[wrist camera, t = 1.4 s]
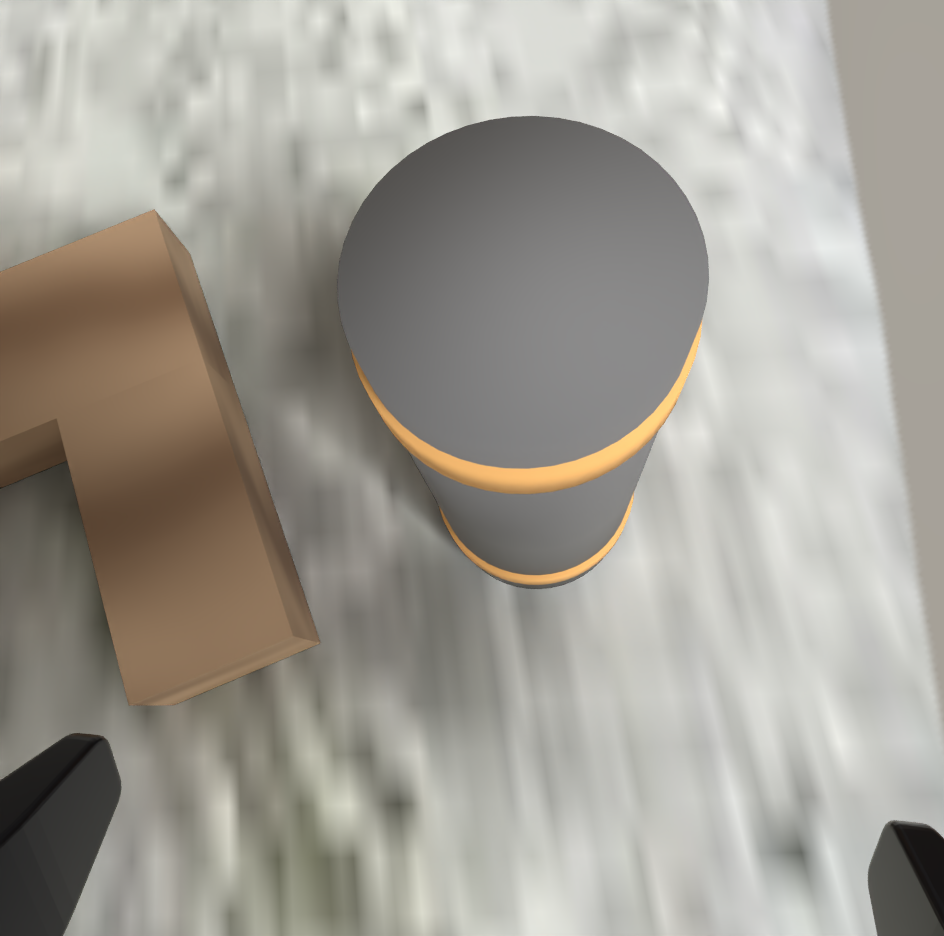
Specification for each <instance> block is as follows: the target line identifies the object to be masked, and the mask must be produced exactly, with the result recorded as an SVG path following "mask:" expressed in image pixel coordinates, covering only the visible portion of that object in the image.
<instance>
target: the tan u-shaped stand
mask: <svg viewBox="0 0 944 936" xmlns="http://www.w3.org/2000/svg"><path fill="white" fill-rule="evenodd" d="M65 461H67V462H68V465H69V469H70V473H71V477H72V481H73V485H74V489H75V493H76V497H77V501H78V505H79V509H80V513H81V517H82V521H83V525H84V529H85V533H86V537H87V541H88V545H89V549H90V553H91V557H92V561H93V565H94V569H95V573H96V577H97V581H98V585H99V589H100V593H101V597H102V601H103V605H104V609H105V613H106V617H107V621H108V625H109V629H110V632H111V636H112V640H113V644H114V648H115V652H116V656H117V660H118V664H119V668H120V672H121V676H122V680H123V684H124V688H125V692H126V696H127V700H128V704H129V705H175V704H178V703H180V702H183V701H185V700H187V699H190V698H192V697H194V696H197V695H199V694H202V693H204V692H206V691H209V690H211V689H213V688H216V687H218V686H220V685H223V684H225V683H228V682H230V681H232V680H235V679H237V678H239V677H242V676H244V675H247V674H249V673H251V672H254V671H256V670H258V669H261V668H263V667H265V666H268V665H270V664H273V663H275V662H277V661H280V660H282V659H284V658H287V657H289V656H292V655H294V654H296V653H299V652H301V651H303V650H306V649H308V648H310V647H313V646H315V645H318V644H320V640H319V637H318V634H317V631H316V628H315V625H314V622H313V619H312V616H311V613H310V610H309V607H308V604H307V601H306V598H305V595H304V592H303V589H302V586H301V583H300V580H299V577H298V574H297V571H296V568H295V565H294V562H293V559H292V556H291V553H290V550H289V547H288V544H287V542H286V539H285V536H284V533H283V530H282V527H281V524H280V521H279V518H278V515H277V512H276V509H275V506H274V503H273V500H272V497H271V494H270V491H269V488H268V485H267V482H266V479H265V476H264V473H263V470H262V467H261V464H260V461H259V458H258V455H257V452H256V449H255V446H254V443H253V440H252V437H251V434H250V431H249V428H248V425H247V422H246V419H245V416H244V413H243V410H242V407H241V404H240V402H239V399H238V396H237V393H236V390H235V387H234V384H233V381H232V378H231V375H230V372H229V369H228V366H227V363H226V360H225V357H224V354H223V351H222V348H221V345H220V342H219V339H218V336H217V333H216V330H215V327H214V324H213V321H212V318H211V315H210V312H209V309H208V306H207V303H206V300H205V297H204V294H203V291H202V288H201V285H200V282H199V279H198V276H197V273H196V270H195V267H194V264H193V261H192V259H191V256H190V253H189V252H188V251H187V249H186V248H185V247H184V246H183V244H182V243H181V242H180V241H179V239H178V238H177V237H176V236H175V234H174V233H173V232H172V231H171V229H170V228H169V227H168V226H167V224H166V223H165V222H164V221H163V220H162V218H161V217H160V216H159V215H158V213H157V212H156V211H155V210H152V211H149V212H147V213H144V214H142V215H139V216H137V217H134V218H132V219H129V220H127V221H124V222H122V223H120V224H117V225H115V226H112V227H110V228H107V229H105V230H102V231H100V232H97V233H95V234H92V235H90V236H87V237H85V238H83V239H80V240H78V241H75V242H73V243H70V244H68V245H65V246H63V247H60V248H58V249H55V250H53V251H51V252H48V253H46V254H43V255H41V256H38V257H36V258H33V259H31V260H28V261H26V262H23V263H21V264H19V265H16V266H14V267H11V268H9V269H6V270H4V271H1V272H0V488H2V487H5V486H7V485H10V484H12V483H14V482H17V481H19V480H22V479H24V478H27V477H29V476H31V475H34V474H36V473H39V472H41V471H43V470H46V469H48V468H51V467H53V466H56V465H58V464H60V463H63V462H65Z"/></svg>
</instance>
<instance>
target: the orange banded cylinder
mask: <svg viewBox="0 0 944 936" xmlns="http://www.w3.org/2000/svg"><path fill="white" fill-rule="evenodd" d="M708 284H709V269H708V255H707V250H706V245H705V240H704V235H703V233H702V230H701V227H700V224H699V221H698V219H697V216H696V214H695V212H694V210H693V208H692V206H691V204H690V203H689V201H688V199H687V197H686V195H685V194H684V193H683V191H682V190H681V189H680V187H679V186H678V185H677V183H676V182H675V180H674V179H673V178H672V177H671V176H670V175H669V174H668V173H667V172H666V171H665V170H664V169H663V168H662V167H661V166H660V165H659V164H658V163H657V162H656V161H655V160H653V159H652V158H651V157H650V156H648V155H647V154H646V153H645V152H643V151H642V150H641V149H639V148H638V147H636V146H634V145H633V144H631V143H629V142H628V141H626V140H624V139H623V138H621V137H618V136H616V135H614V134H612V133H610V132H607V131H605V130H603V129H600V128H597V127H594V126H591V125H587V124H584V123H581V122H577V121H571V120H566V119H561V118H553V117H540V116H522V117H507V118H500V119H493V120H488V121H484V122H480V123H476V124H472V125H468V126H465V127H462V128H460V129H457V130H454V131H452V132H449V133H446V134H444V135H442V136H440V137H438V138H436V139H434V140H432V141H430V142H428V143H426V144H425V145H423V146H422V147H420V148H419V149H417V150H416V151H414V152H412V153H411V154H409V155H408V156H407V157H405V158H404V159H403V160H402V161H401V162H399V163H398V164H397V165H396V166H395V167H393V168H392V169H391V170H390V171H389V172H388V173H387V174H386V175H385V176H384V177H383V178H382V179H381V180H380V181H379V182H378V184H377V185H376V186H375V187H374V188H373V190H372V191H371V192H370V194H369V195H368V196H367V198H366V199H365V201H364V202H363V203H362V205H361V207H360V209H359V210H358V212H357V214H356V216H355V218H354V219H353V221H352V224H351V226H350V229H349V231H348V233H347V236H346V238H345V241H344V245H343V249H342V253H341V257H340V261H339V269H338V279H337V292H338V307H339V312H340V317H341V323H342V326H343V329H344V332H345V335H346V338H347V341H348V344H349V346H350V348H351V352H352V357H353V360H354V363H355V366H356V369H357V372H358V375H359V378H360V380H361V382H362V384H363V386H364V387H365V389H366V391H367V393H368V395H369V397H370V399H371V400H372V402H373V404H374V406H375V407H376V409H377V411H378V412H379V414H380V416H381V417H382V419H383V421H384V422H385V423H386V425H387V426H388V428H389V429H390V430H391V432H392V433H393V435H394V436H395V437H396V438H397V439H398V440H399V441H400V443H401V444H402V445H403V446H404V447H405V448H406V449H407V450H408V452H409V454H410V455H411V457H412V459H413V461H414V463H415V464H416V466H417V468H418V470H419V471H420V473H421V475H422V477H423V478H424V480H425V482H426V484H427V485H428V487H429V489H430V491H431V493H432V494H433V496H434V498H435V500H436V501H437V503H438V505H439V509H440V512H441V515H442V518H443V520H444V523H445V524H446V526H447V528H448V530H449V532H450V534H451V536H452V537H453V539H454V540H455V542H456V543H457V545H458V546H459V548H460V549H461V550H462V551H463V552H464V554H465V555H466V556H467V557H468V558H469V559H470V560H471V561H473V562H474V563H475V564H476V565H477V566H478V567H479V568H481V569H482V570H483V571H484V572H486V573H487V574H489V575H490V576H492V577H494V578H495V579H497V580H499V581H502V582H504V583H506V584H510V585H513V586H516V587H522V588H528V589H544V588H552V587H557V586H561V585H564V584H567V583H569V582H572V581H574V580H576V579H578V578H580V577H582V576H583V575H585V574H586V573H588V572H589V571H590V570H592V569H593V568H594V567H595V566H596V565H597V564H598V563H599V562H600V561H601V560H602V559H603V558H604V556H605V555H606V554H607V553H608V552H609V551H610V550H611V548H612V547H613V546H614V545H615V543H616V541H617V540H618V538H619V536H620V535H621V533H622V530H623V528H624V526H625V523H626V521H627V519H628V516H629V514H630V510H631V507H632V503H633V497H634V491H635V488H636V486H637V483H638V480H639V478H640V475H641V473H642V470H643V468H644V465H645V463H646V460H647V458H648V455H649V453H650V450H651V448H652V445H653V443H654V440H655V438H656V435H657V433H658V430H659V429H660V428H661V426H662V425H663V424H664V423H665V421H666V419H667V418H668V416H669V414H670V413H671V411H672V409H673V408H674V406H675V404H676V402H677V399H678V397H679V395H680V392H681V390H682V388H683V385H684V383H685V381H686V378H687V376H688V373H689V371H690V369H691V366H692V364H693V362H694V359H695V356H696V352H697V348H698V344H699V340H700V336H701V326H702V317H703V313H704V310H705V306H706V302H707V293H708Z"/></svg>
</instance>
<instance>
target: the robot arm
mask: <svg viewBox="0 0 944 936" xmlns="http://www.w3.org/2000/svg"><path fill="white" fill-rule="evenodd" d="M120 794H121V779H120V776H119V773H118V769H117V766H116V763H115V760H114V757H113V754H112V751H111V748H110V744H109V742H108V740H107V739H106V738H104V737H103V736H100V735H91V734H82V733H74V734H70V735H68V736H66V737H64V738H62V739H61V740H59V741H58V742H56V743H55V744H53V745H52V746H50V747H49V748H47V749H46V750H45V751H43V752H42V753H40V754H39V755H37V756H36V757H34V758H33V759H31V760H30V761H28V762H27V763H25V764H24V765H22V766H21V767H19V768H18V769H17V770H15V771H14V772H12V773H11V774H9V775H8V776H6V777H5V778H3V779H2V780H0V936H63V934H64V932H65V930H66V928H67V926H68V924H69V921H70V919H71V917H72V915H73V912H74V910H75V908H76V905H77V903H78V900H79V898H80V895H81V893H82V890H83V888H84V886H85V883H86V881H87V878H88V876H89V873H90V871H91V868H92V866H93V863H94V861H95V858H96V856H97V854H98V851H99V849H100V846H101V844H102V841H103V839H104V836H105V834H106V831H107V829H108V826H109V824H110V822H111V819H112V817H113V814H114V812H115V809H116V807H117V804H118V801H119V798H120ZM868 888H869V894H870V899H871V904H872V909H873V915H874V920H875V925H876V930H877V936H944V838H943V837H942V836H941V835H940V834H939V833H938V832H937V831H936V830H935V829H933V828H932V827H930V826H929V825H927V824H923V823H916V822H906V821H897V820H893V821H890V822H888V823H887V824H886V825H885V827H884V828H883V831H882V833H881V836H880V839H879V841H878V844H877V846H876V849H875V852H874V854H873V857H872V860H871V862H870V865H869V870H868Z"/></svg>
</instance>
